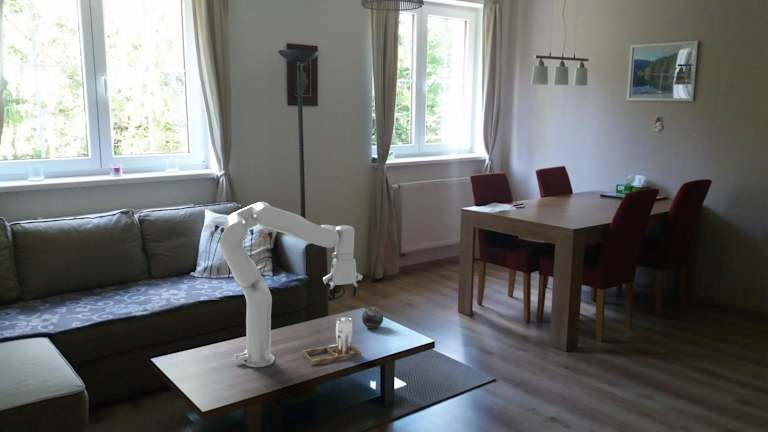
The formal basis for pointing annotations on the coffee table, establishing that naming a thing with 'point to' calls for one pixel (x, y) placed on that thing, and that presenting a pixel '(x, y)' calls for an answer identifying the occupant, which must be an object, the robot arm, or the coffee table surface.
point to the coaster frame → (330, 351)
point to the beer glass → (343, 335)
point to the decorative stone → (372, 317)
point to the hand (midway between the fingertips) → (342, 296)
